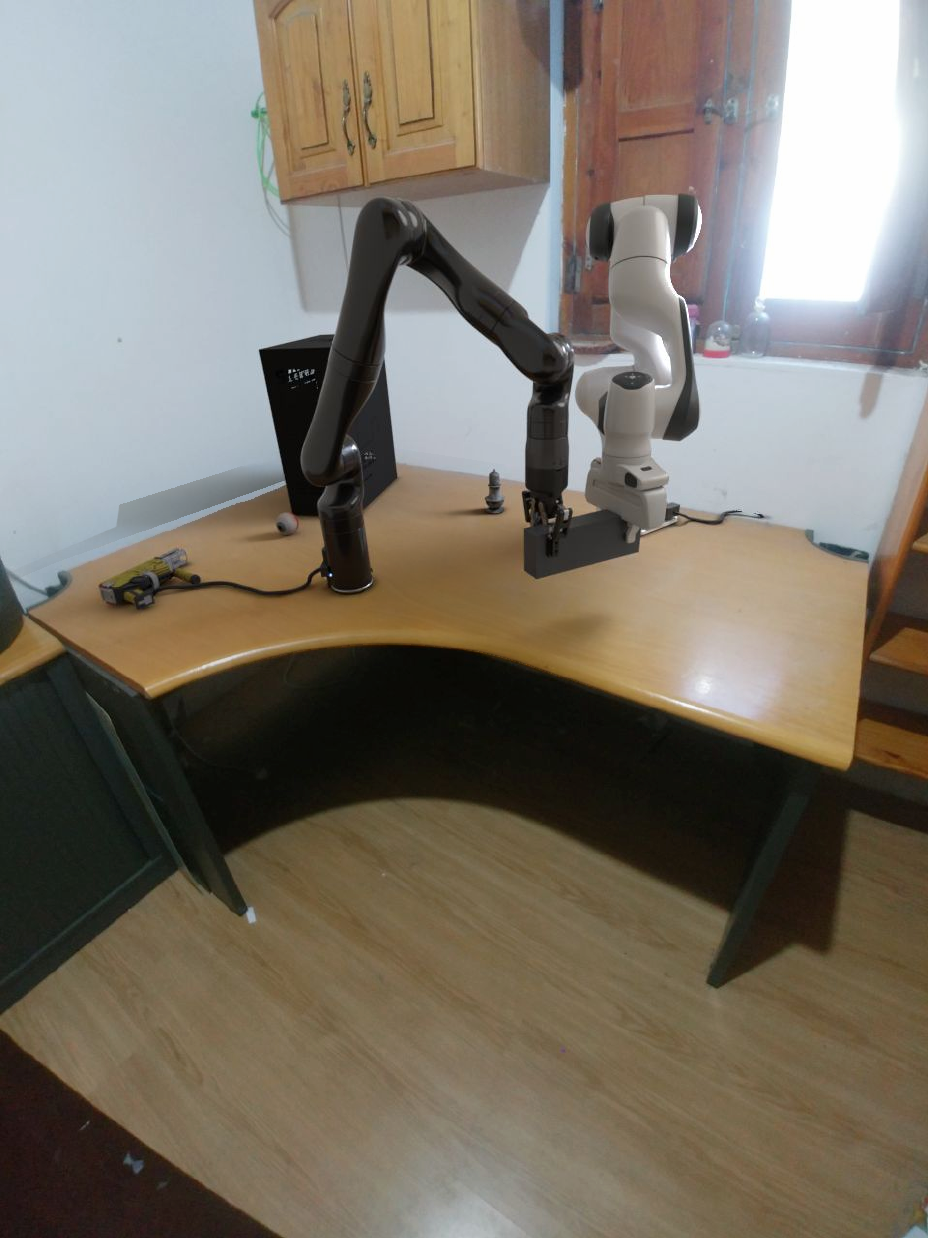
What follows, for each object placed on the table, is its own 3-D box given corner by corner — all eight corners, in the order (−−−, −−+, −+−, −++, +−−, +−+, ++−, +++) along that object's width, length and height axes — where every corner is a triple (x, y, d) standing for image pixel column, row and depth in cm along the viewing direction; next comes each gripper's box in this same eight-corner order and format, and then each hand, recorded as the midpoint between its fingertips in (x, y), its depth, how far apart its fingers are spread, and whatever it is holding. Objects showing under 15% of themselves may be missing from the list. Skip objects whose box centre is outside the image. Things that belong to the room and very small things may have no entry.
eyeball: (273, 537, 164) (268, 516, 161) (287, 528, 169) (282, 508, 166) (291, 539, 161) (286, 518, 158) (305, 530, 166) (301, 510, 163)
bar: (624, 544, 124) (627, 504, 119) (638, 552, 120) (642, 510, 116) (523, 570, 116) (523, 528, 111) (535, 579, 112) (536, 536, 108)
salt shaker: (503, 513, 170) (502, 471, 164) (483, 513, 171) (481, 471, 165) (506, 506, 175) (506, 465, 169) (486, 506, 176) (485, 465, 170)
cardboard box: (355, 516, 174) (330, 347, 152) (292, 514, 179) (258, 349, 156) (397, 477, 206) (381, 332, 183) (342, 476, 210) (320, 334, 188)
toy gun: (224, 556, 146) (173, 545, 150) (148, 597, 126) (92, 584, 130) (226, 573, 148) (177, 563, 152) (152, 617, 128) (97, 603, 132)
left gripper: (508, 455, 109) (509, 543, 117) (550, 474, 97) (548, 570, 106) (543, 448, 111) (542, 535, 120) (589, 467, 100) (584, 561, 108)
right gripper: (578, 457, 119) (576, 523, 126) (647, 484, 103) (639, 558, 110) (605, 452, 121) (601, 517, 128) (676, 477, 105) (666, 550, 112)
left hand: (545, 551), depth 113 cm, fingers closed on bar, 4 cm apart
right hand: (619, 536), depth 119 cm, fingers closed on bar, 4 cm apart
